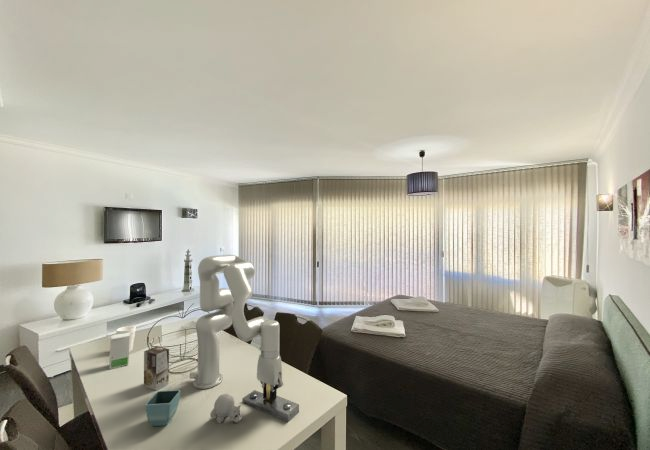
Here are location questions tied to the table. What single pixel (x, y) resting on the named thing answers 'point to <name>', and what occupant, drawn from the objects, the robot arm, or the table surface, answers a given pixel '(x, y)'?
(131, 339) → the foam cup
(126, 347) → the skincare box
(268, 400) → the pin
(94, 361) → the table surface
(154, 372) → the coffee box
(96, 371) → the table surface
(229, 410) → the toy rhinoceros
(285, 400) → the grey flat bar
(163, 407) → the flower pot
